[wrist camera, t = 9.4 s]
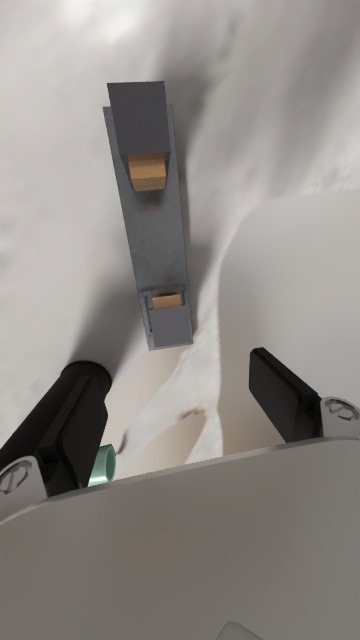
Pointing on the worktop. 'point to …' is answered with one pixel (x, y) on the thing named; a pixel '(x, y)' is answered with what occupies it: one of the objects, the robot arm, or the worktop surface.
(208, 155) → the worktop surface
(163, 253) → the rail
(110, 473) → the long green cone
